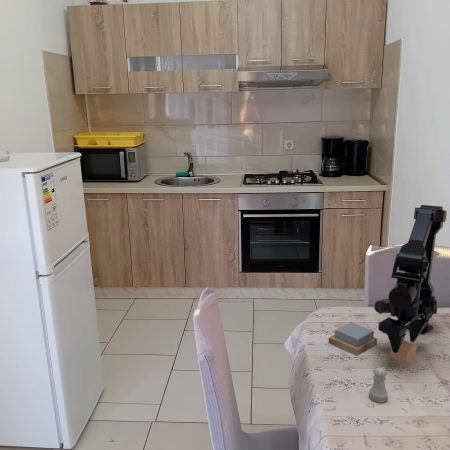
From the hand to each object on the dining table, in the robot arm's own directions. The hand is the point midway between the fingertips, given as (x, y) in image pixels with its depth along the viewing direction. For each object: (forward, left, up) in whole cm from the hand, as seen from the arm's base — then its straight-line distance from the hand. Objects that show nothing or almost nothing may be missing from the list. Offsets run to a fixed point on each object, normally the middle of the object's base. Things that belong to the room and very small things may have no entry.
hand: (403, 347), depth 132 cm
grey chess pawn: (+22, +6, -3) cm, 23 cm away
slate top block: (+4, -14, -1) cm, 14 cm away
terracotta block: (0, 0, -3) cm, 3 cm away
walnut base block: (+4, -14, -4) cm, 15 cm away
